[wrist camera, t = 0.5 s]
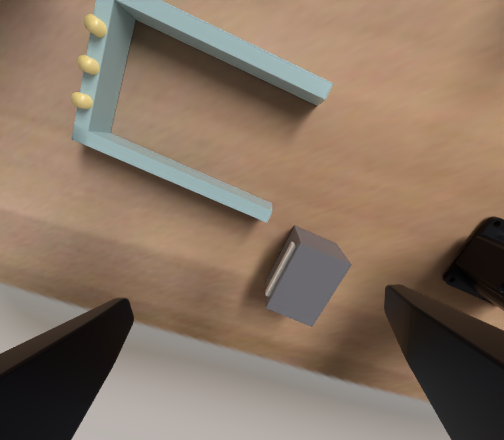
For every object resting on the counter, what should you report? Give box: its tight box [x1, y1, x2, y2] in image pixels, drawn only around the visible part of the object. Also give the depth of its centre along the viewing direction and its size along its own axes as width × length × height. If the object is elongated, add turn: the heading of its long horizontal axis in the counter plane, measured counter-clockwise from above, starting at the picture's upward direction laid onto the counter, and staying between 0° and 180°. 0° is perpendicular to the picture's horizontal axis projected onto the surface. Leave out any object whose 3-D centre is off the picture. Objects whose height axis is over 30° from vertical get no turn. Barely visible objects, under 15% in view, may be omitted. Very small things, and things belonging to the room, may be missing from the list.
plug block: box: [265, 226, 351, 327], centre depth 20 cm, size 4×6×4 cm
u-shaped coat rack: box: [71, 0, 333, 223], centre depth 17 cm, size 15×10×3 cm, turn 67°
